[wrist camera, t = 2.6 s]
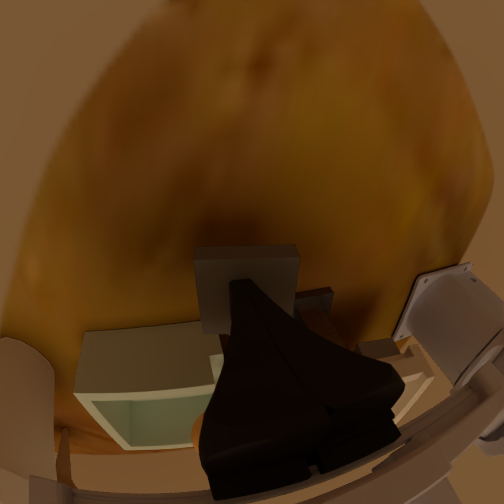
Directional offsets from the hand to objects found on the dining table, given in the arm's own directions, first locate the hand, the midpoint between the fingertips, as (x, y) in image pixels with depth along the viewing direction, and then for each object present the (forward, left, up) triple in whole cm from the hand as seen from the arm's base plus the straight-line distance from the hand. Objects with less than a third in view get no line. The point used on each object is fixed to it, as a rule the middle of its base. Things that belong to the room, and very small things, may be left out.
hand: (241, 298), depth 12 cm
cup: (+5, +10, -5) cm, 12 cm away
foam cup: (+18, +9, -5) cm, 20 cm away
